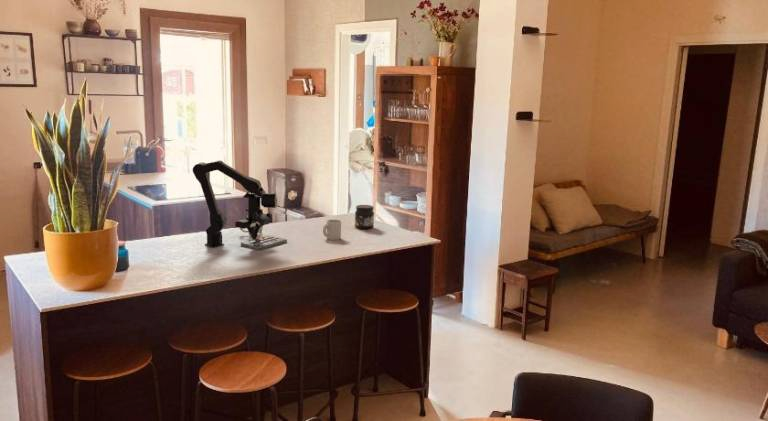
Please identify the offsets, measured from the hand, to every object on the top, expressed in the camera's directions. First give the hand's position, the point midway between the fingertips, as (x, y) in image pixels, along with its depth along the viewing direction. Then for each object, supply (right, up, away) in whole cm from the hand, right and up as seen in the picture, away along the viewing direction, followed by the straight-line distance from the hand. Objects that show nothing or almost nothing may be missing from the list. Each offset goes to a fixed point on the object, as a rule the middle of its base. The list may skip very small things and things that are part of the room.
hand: (254, 239), depth 284 cm
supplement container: (+50, +4, +49) cm, 70 cm away
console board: (+3, -2, +6) cm, 8 cm away
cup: (+34, -1, +22) cm, 41 cm away
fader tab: (+1, -2, +3) cm, 3 cm away
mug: (-6, +1, +20) cm, 21 cm away
